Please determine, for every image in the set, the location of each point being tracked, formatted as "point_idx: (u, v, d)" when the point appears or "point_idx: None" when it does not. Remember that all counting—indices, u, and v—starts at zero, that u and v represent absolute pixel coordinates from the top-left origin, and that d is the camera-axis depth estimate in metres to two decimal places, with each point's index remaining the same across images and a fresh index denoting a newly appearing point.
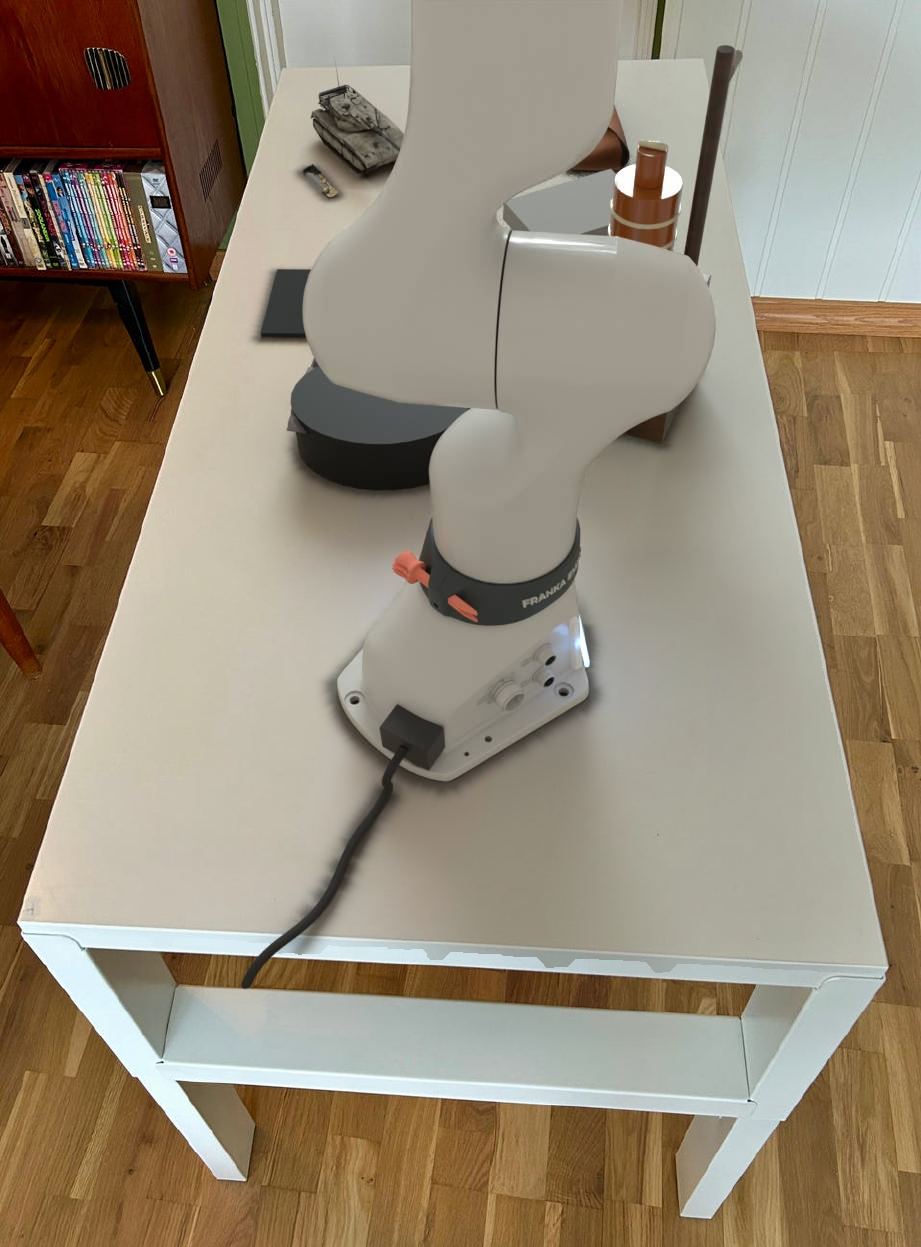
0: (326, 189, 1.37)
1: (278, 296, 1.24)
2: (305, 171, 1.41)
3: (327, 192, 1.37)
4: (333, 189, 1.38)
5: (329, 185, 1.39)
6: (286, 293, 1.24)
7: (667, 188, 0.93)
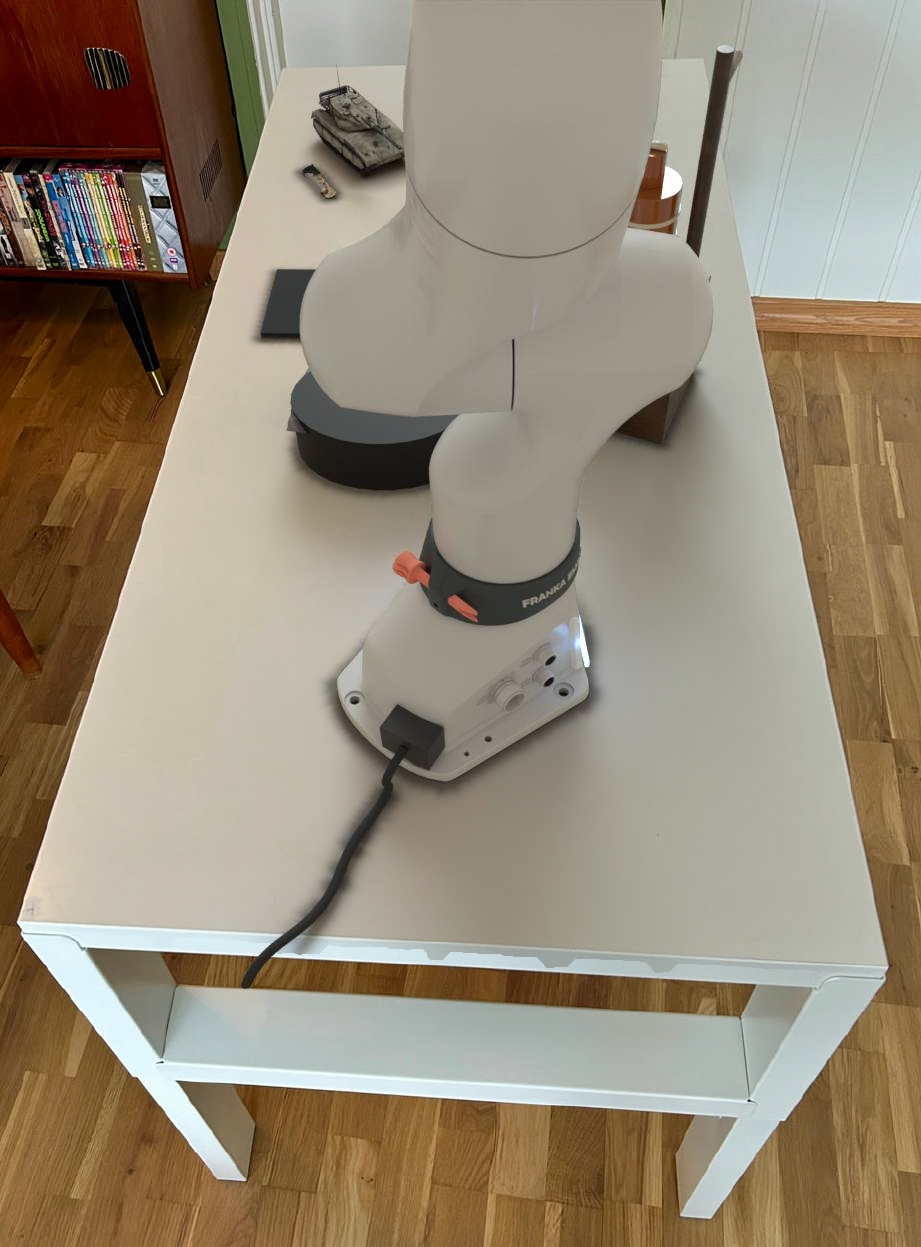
0: (324, 190, 1.37)
1: (278, 296, 1.24)
2: (304, 171, 1.41)
3: (325, 193, 1.37)
4: (331, 190, 1.38)
5: (328, 185, 1.39)
6: (286, 293, 1.24)
7: (667, 188, 0.93)
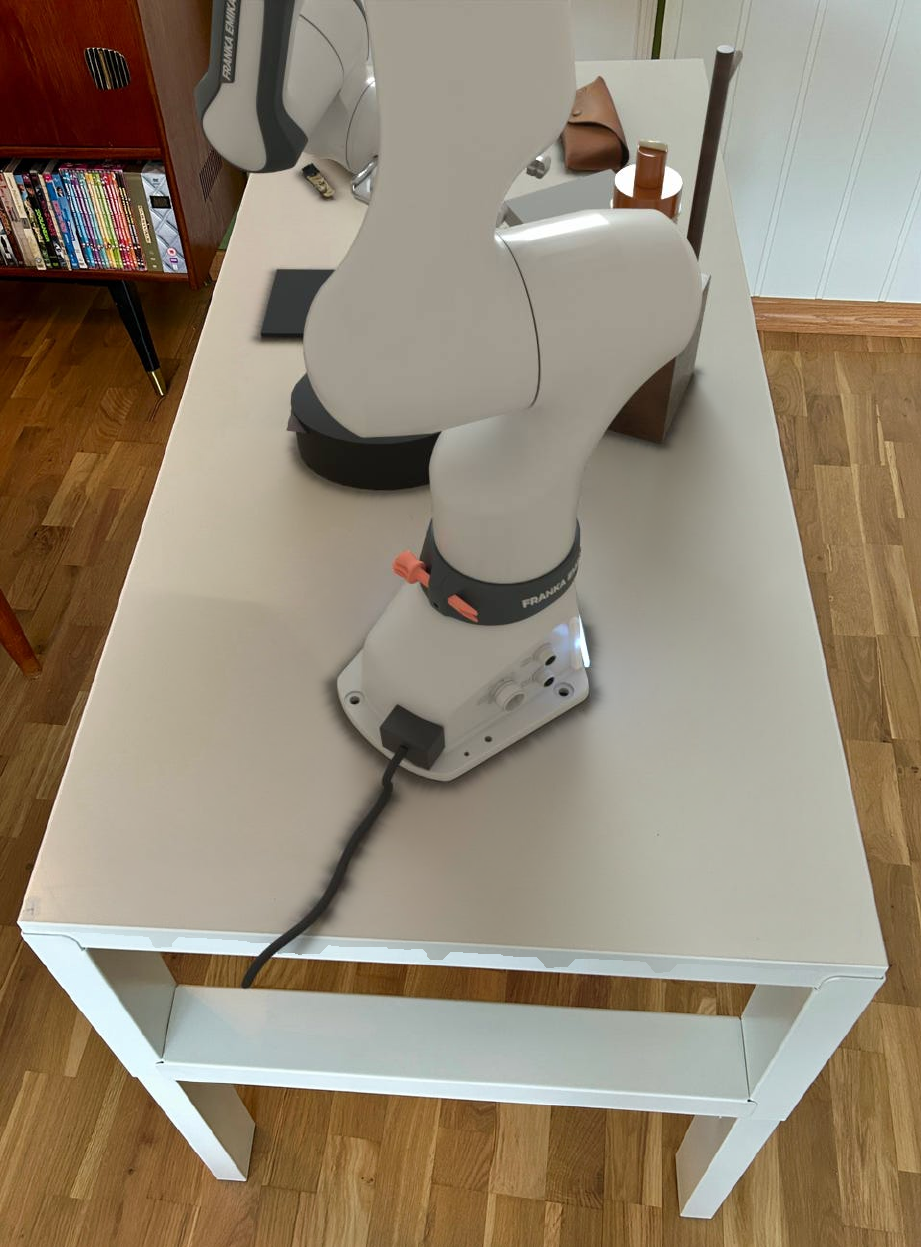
0: (323, 188, 1.37)
1: (278, 296, 1.24)
2: (304, 170, 1.41)
3: (324, 191, 1.37)
4: (330, 188, 1.37)
5: (327, 184, 1.38)
6: (286, 293, 1.24)
7: (667, 188, 0.93)
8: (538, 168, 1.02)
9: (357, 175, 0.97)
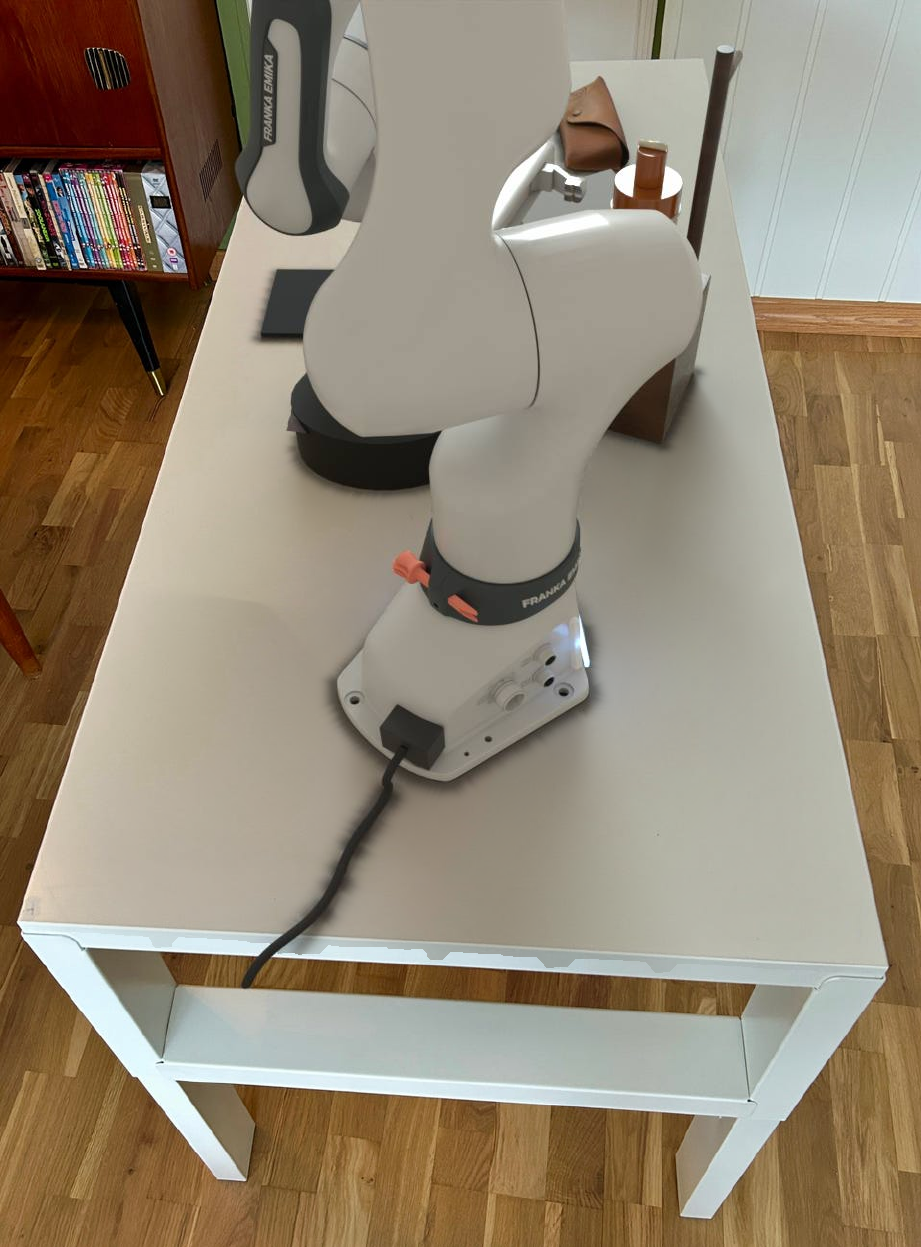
0: None
1: (278, 296, 1.24)
2: None
3: None
4: None
5: None
6: (286, 293, 1.24)
7: (667, 188, 0.93)
8: (575, 193, 1.02)
9: None
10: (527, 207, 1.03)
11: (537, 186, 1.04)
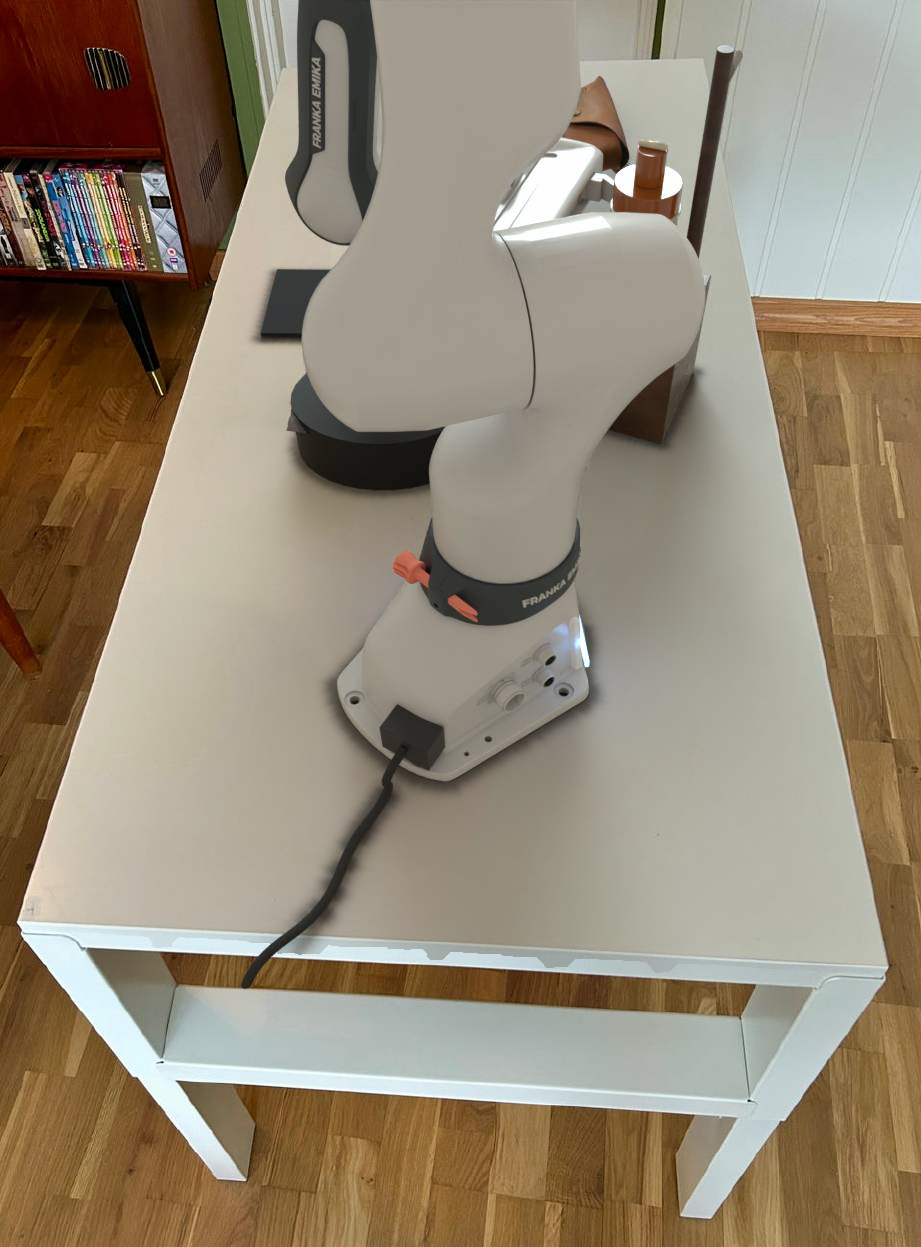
0: None
1: (278, 296, 1.24)
2: None
3: None
4: None
5: None
6: (286, 293, 1.24)
7: (667, 188, 0.93)
8: None
9: None
10: None
11: (585, 196, 1.03)
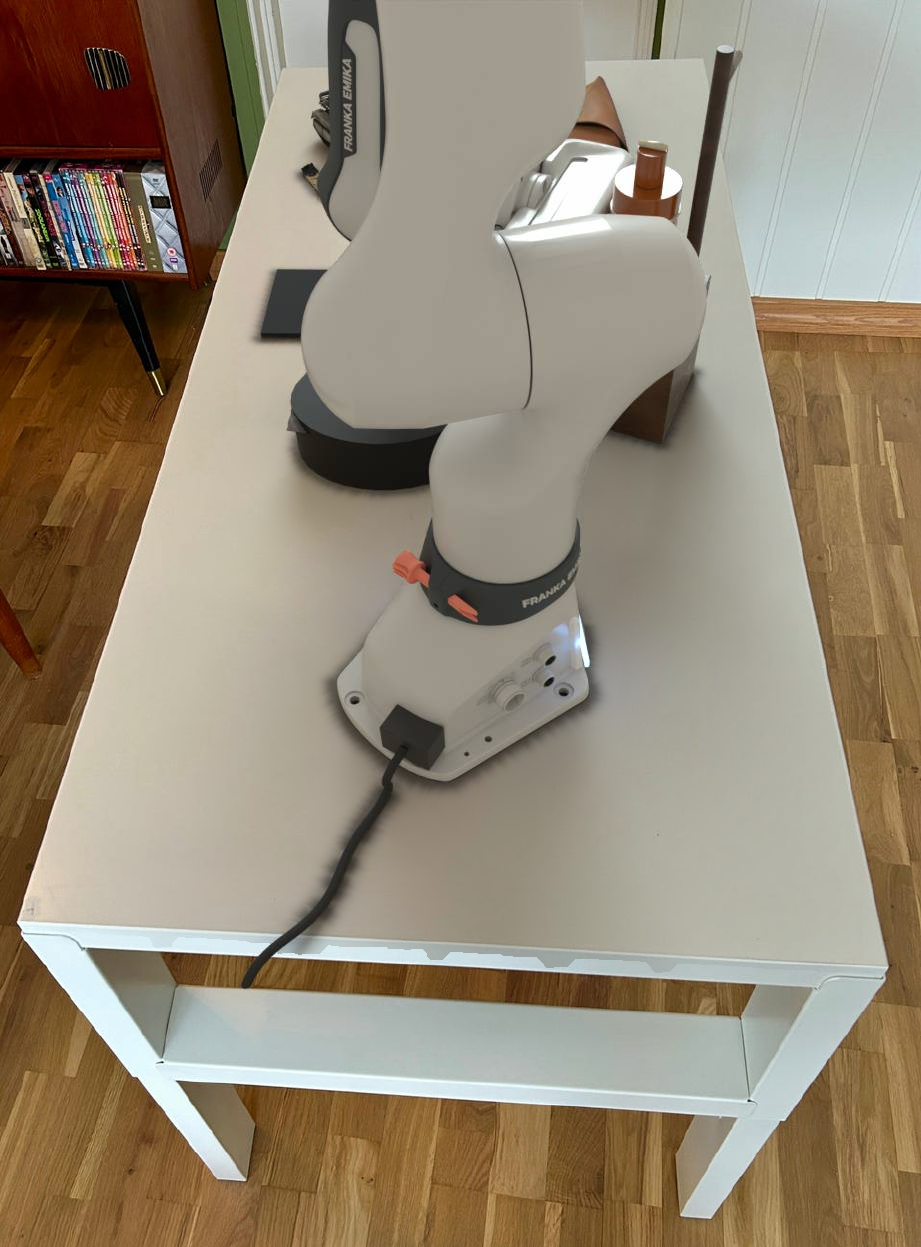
0: None
1: (278, 296, 1.24)
2: (303, 169, 1.40)
3: None
4: None
5: None
6: (286, 293, 1.24)
7: (667, 189, 0.93)
8: None
9: None
10: None
11: None
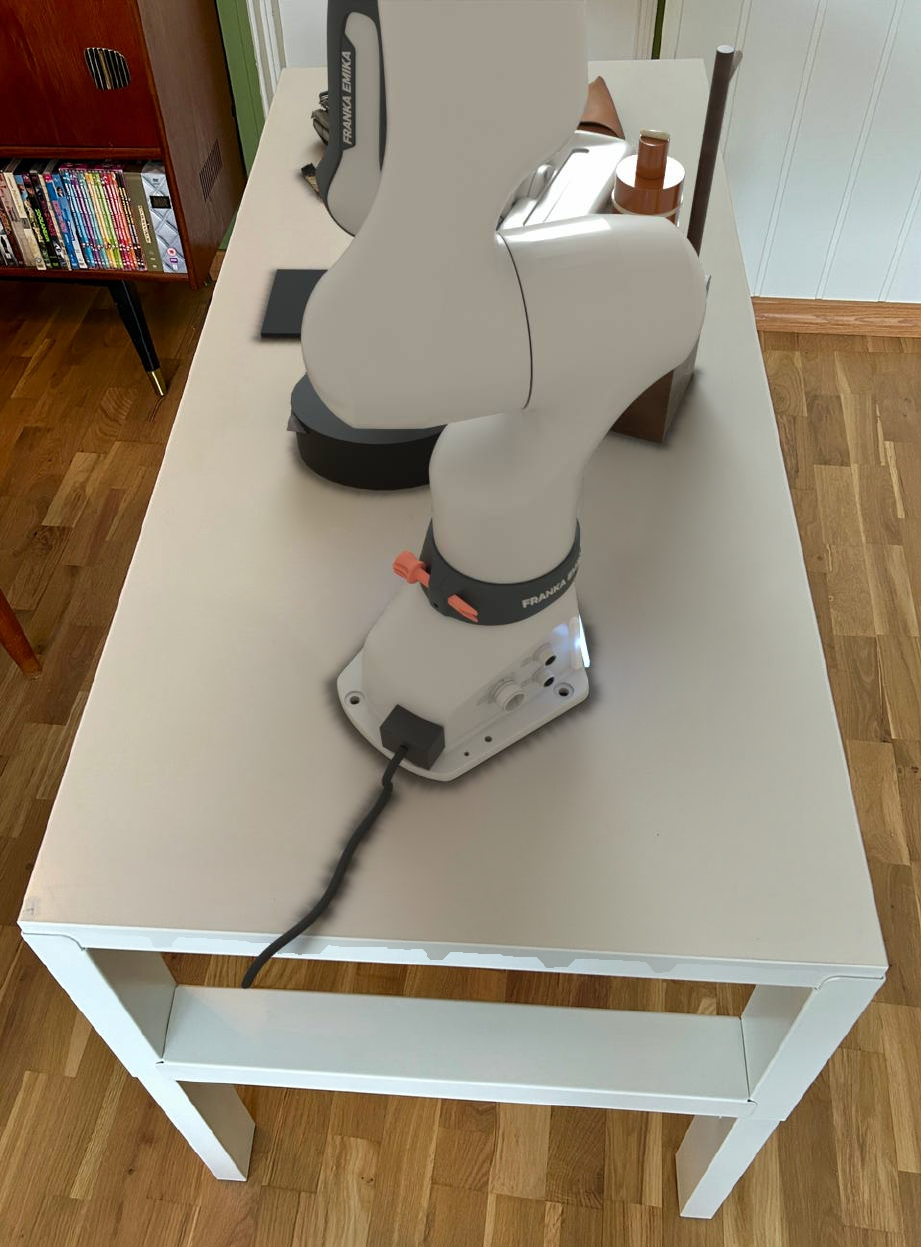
0: None
1: (278, 296, 1.24)
2: (303, 169, 1.40)
3: None
4: None
5: None
6: (286, 293, 1.24)
7: (670, 178, 0.92)
8: None
9: None
10: (609, 213, 1.00)
11: None
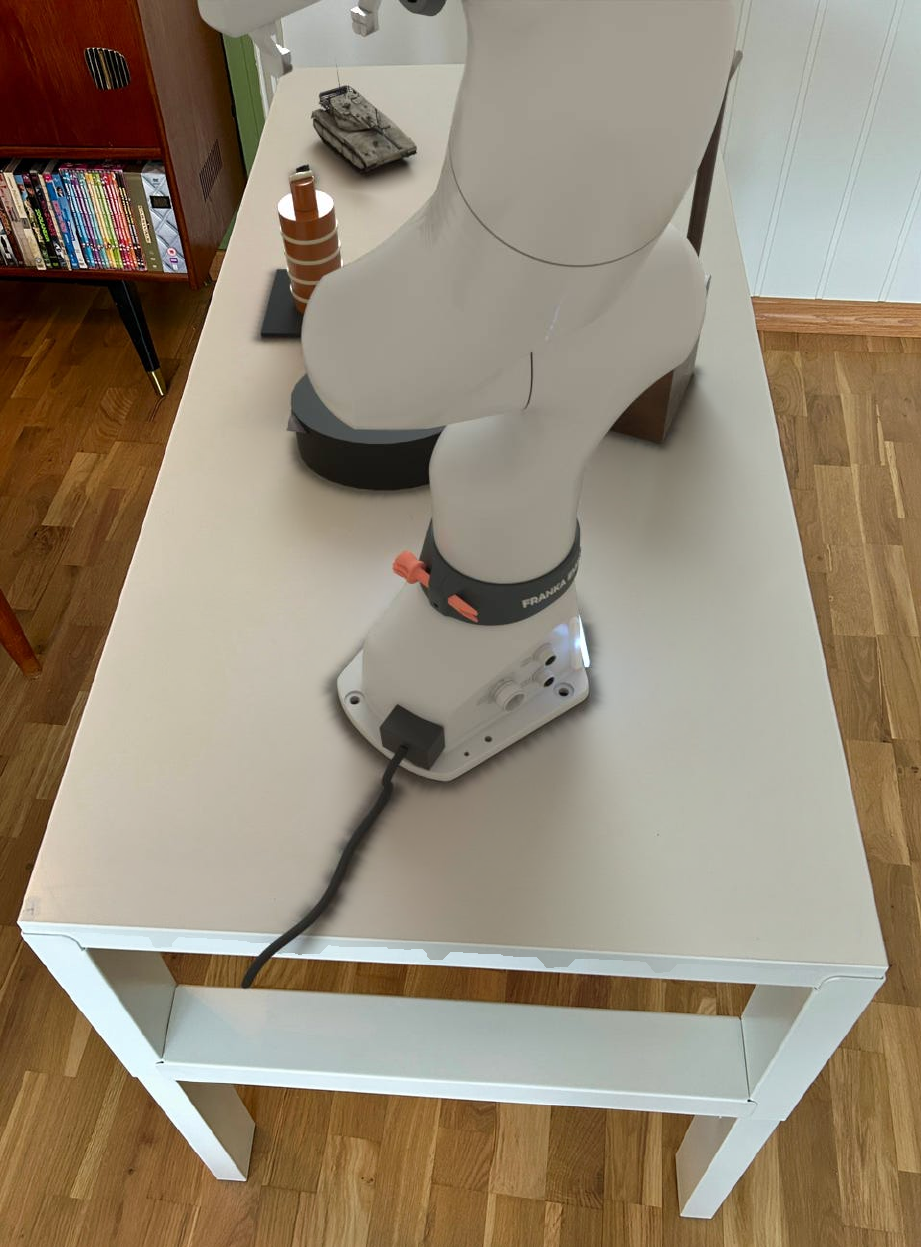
0: None
1: (278, 296, 1.24)
2: (298, 170, 1.40)
3: None
4: None
5: None
6: (286, 293, 1.24)
7: (324, 203, 1.14)
8: (360, 27, 0.90)
9: None
10: None
11: None
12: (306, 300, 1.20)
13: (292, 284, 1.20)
